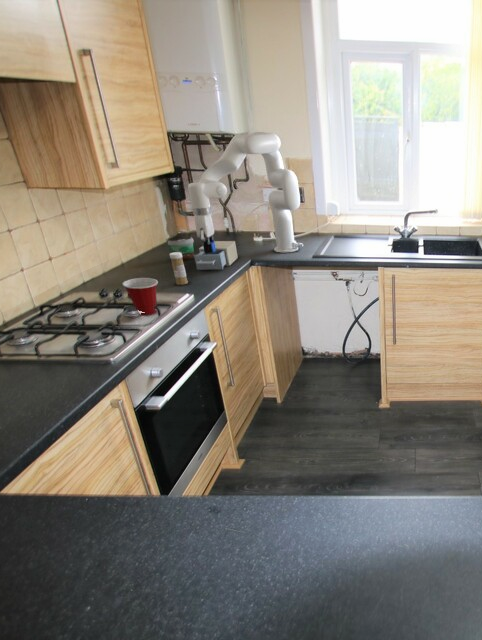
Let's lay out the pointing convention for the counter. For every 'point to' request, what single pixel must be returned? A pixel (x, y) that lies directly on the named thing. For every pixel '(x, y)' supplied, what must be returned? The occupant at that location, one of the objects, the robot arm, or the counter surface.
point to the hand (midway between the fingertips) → (210, 250)
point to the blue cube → (212, 246)
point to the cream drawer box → (226, 250)
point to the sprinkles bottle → (178, 268)
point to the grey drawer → (211, 260)
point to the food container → (183, 247)
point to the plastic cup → (142, 294)
